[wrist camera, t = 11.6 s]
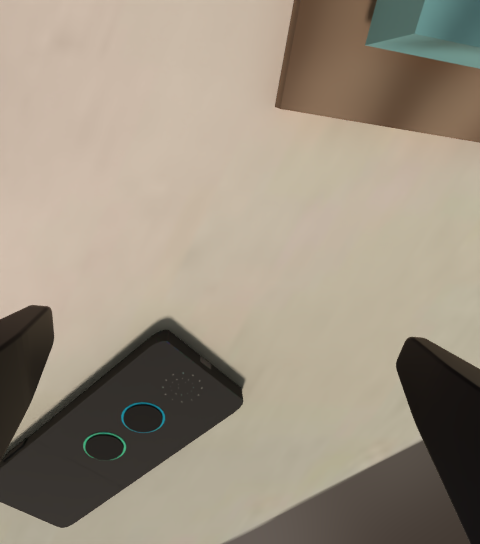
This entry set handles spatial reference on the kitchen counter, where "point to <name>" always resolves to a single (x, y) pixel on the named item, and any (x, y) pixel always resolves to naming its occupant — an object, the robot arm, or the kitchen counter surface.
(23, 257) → the kitchen counter surface
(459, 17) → the collar
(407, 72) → the stand
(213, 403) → the smart home device
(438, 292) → the kitchen counter surface
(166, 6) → the kitchen counter surface
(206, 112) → the kitchen counter surface
